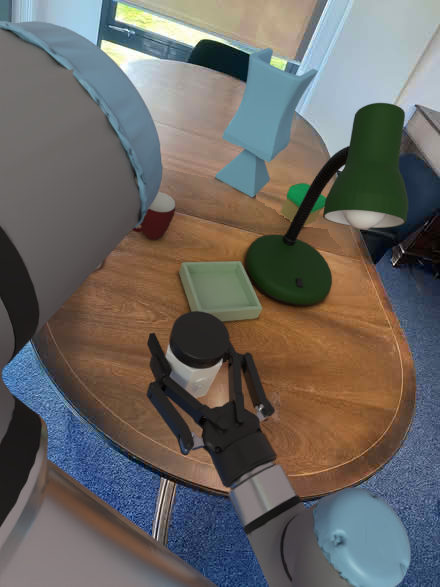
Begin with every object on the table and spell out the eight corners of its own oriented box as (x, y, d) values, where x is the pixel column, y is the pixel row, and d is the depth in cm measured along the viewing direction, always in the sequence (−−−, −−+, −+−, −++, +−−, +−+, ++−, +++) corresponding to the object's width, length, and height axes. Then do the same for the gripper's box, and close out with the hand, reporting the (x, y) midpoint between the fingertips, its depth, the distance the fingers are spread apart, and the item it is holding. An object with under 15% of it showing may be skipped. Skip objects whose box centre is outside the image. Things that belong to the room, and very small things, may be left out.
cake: (292, 202, 124) (306, 175, 117) (318, 221, 120) (333, 194, 113) (274, 209, 118) (287, 181, 111) (300, 230, 114) (315, 202, 107)
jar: (165, 408, 57) (181, 366, 48) (148, 362, 61) (161, 315, 53) (218, 393, 61) (242, 351, 52) (199, 350, 65) (218, 306, 57)
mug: (143, 254, 90) (149, 220, 83) (120, 234, 92) (124, 199, 85) (175, 238, 97) (183, 205, 90) (153, 220, 99) (159, 187, 92)
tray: (195, 324, 80) (199, 313, 78) (179, 273, 89) (182, 262, 86) (257, 318, 86) (262, 308, 83) (236, 271, 95) (240, 260, 92)
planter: (272, 181, 129) (318, 70, 104) (254, 200, 118) (301, 81, 94) (232, 160, 132) (268, 47, 107) (211, 177, 121) (245, 55, 96)
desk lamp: (345, 341, 89) (496, 167, 57) (252, 329, 83) (361, 131, 52) (316, 251, 109) (415, 87, 77) (240, 237, 104) (313, 55, 72)
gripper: (166, 523, 45) (108, 362, 56) (305, 452, 55) (232, 329, 67) (178, 506, 39) (111, 332, 51) (330, 431, 50) (246, 301, 61)
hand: (180, 331), depth 59 cm, fingers closed on jar, 9 cm apart
